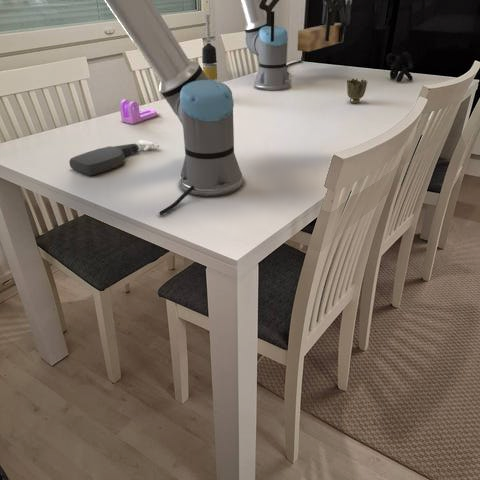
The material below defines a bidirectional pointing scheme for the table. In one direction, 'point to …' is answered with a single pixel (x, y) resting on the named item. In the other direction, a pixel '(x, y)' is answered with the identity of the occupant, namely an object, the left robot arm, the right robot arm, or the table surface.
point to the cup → (356, 89)
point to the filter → (209, 56)
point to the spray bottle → (106, 157)
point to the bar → (317, 37)
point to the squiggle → (399, 66)
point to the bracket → (134, 112)
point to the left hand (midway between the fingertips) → (299, 40)
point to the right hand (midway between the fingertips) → (334, 41)
